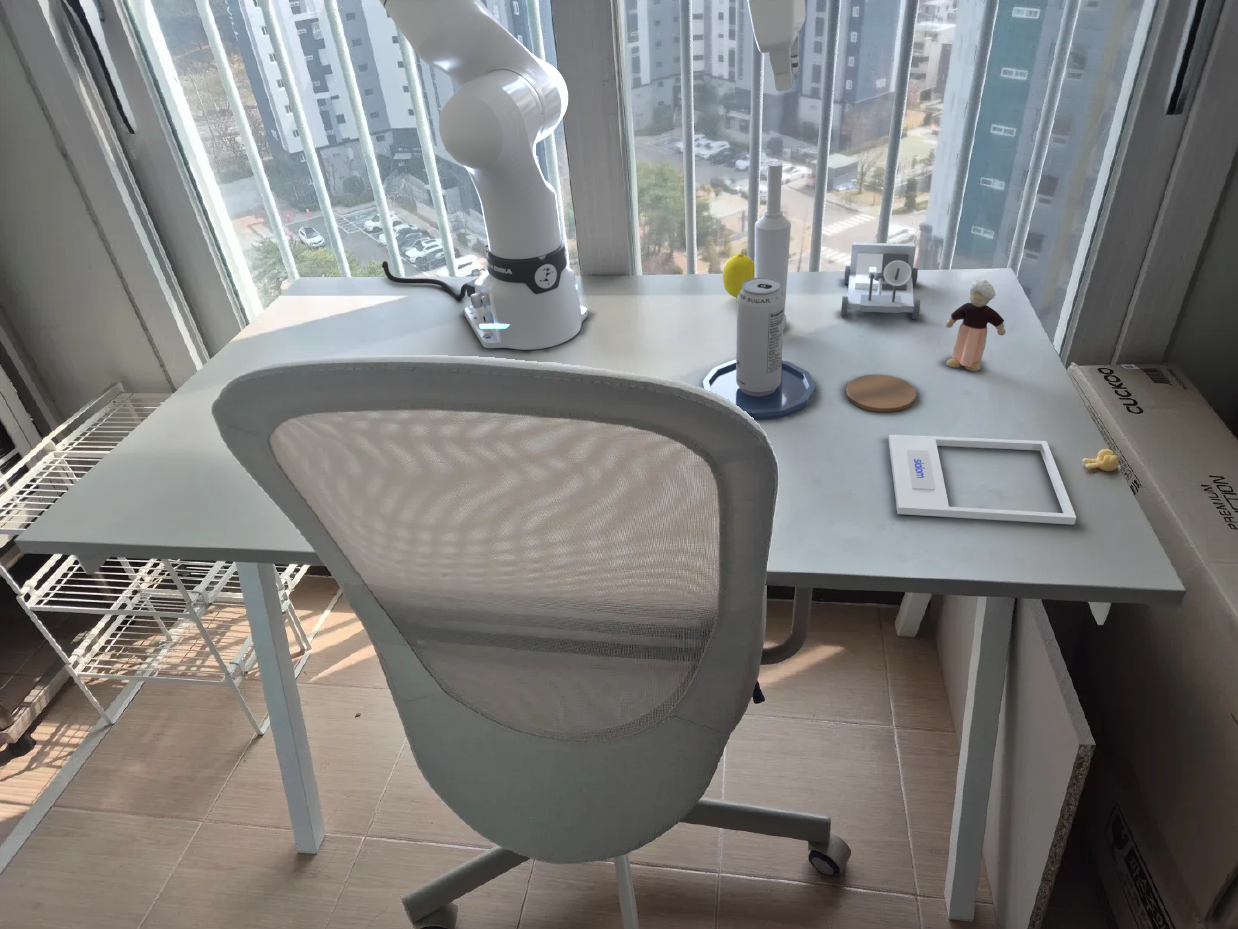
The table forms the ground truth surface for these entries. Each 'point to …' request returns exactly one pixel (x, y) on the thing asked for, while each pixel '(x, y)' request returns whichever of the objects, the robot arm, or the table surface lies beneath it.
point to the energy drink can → (759, 336)
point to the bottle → (773, 234)
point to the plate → (778, 404)
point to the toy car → (881, 279)
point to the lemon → (737, 273)
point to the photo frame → (926, 489)
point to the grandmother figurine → (974, 326)
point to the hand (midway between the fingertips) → (788, 80)
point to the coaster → (881, 393)
